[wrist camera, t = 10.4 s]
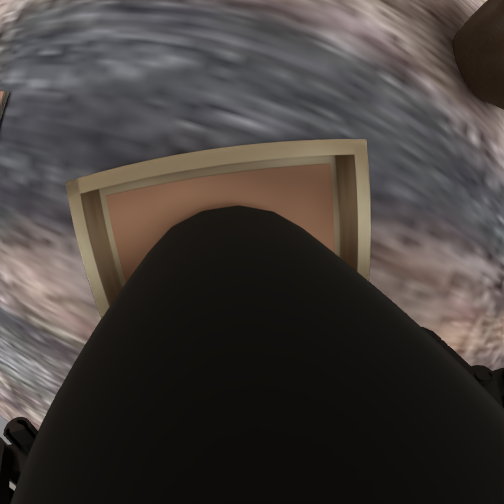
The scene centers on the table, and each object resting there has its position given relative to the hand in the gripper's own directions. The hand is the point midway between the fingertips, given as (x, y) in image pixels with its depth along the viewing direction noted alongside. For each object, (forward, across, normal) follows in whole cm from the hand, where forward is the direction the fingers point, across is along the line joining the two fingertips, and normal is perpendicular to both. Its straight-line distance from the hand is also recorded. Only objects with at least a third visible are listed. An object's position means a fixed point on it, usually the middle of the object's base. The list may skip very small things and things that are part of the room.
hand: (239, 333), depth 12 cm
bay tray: (+6, 0, +7) cm, 10 cm away
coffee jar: (+4, 0, 0) cm, 4 cm away
